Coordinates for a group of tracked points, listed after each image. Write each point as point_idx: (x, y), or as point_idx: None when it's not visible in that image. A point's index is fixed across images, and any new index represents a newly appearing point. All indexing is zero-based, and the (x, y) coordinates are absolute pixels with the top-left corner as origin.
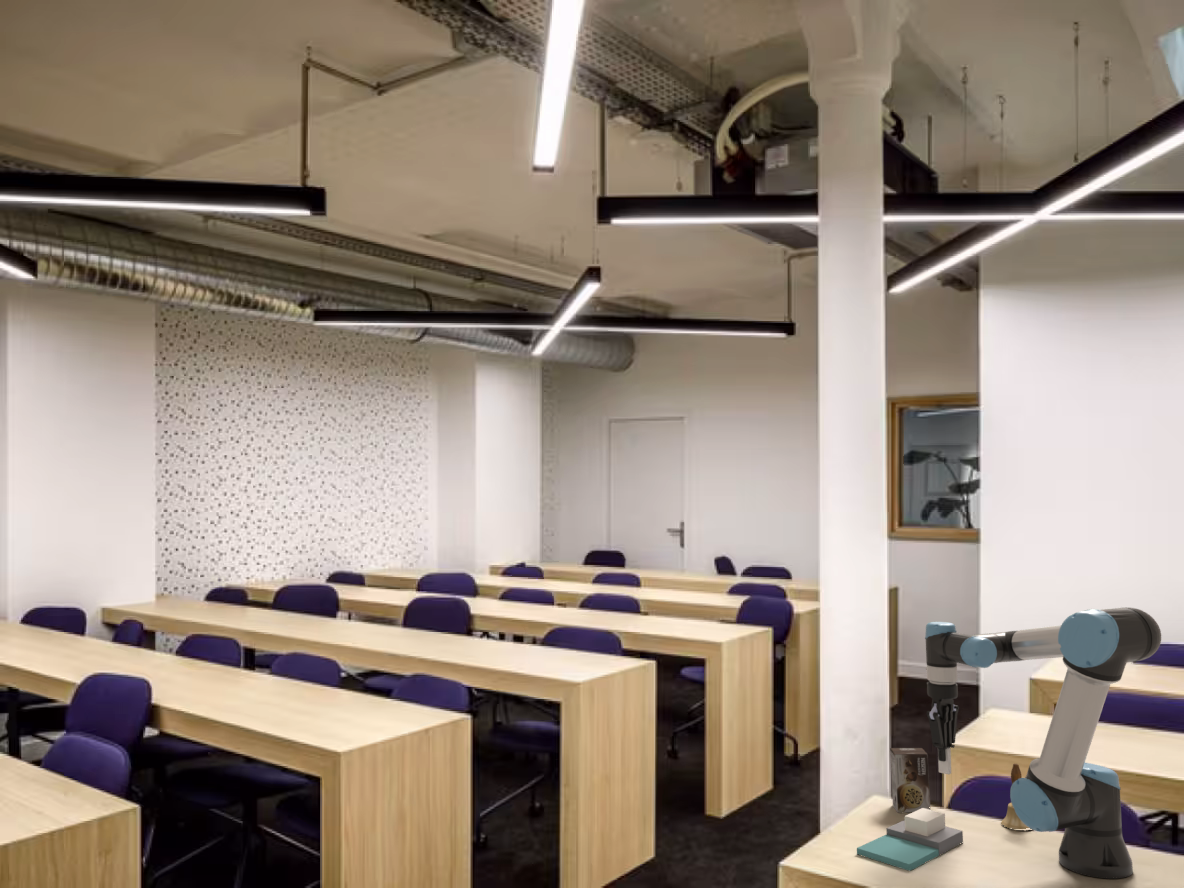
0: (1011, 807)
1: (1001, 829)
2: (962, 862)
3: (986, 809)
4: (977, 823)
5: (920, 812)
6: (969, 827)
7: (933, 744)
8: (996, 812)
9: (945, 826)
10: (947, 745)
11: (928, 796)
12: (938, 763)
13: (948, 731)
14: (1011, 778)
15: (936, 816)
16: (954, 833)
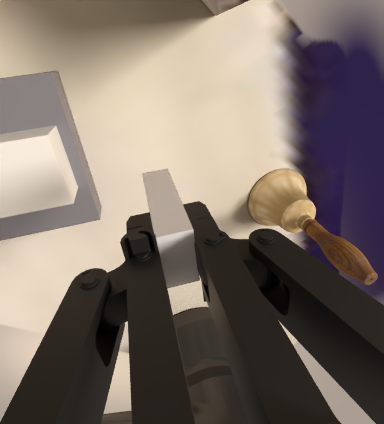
0: (282, 216)
1: (237, 194)
2: (13, 269)
3: (337, 96)
4: (234, 145)
5: (4, 161)
6: (197, 152)
7: (73, 288)
8: (329, 123)
9: (85, 181)
10: (201, 274)
11: (228, 5)
12: (146, 189)
13: (233, 369)
14: (333, 248)
15: (28, 208)
16: (66, 222)
